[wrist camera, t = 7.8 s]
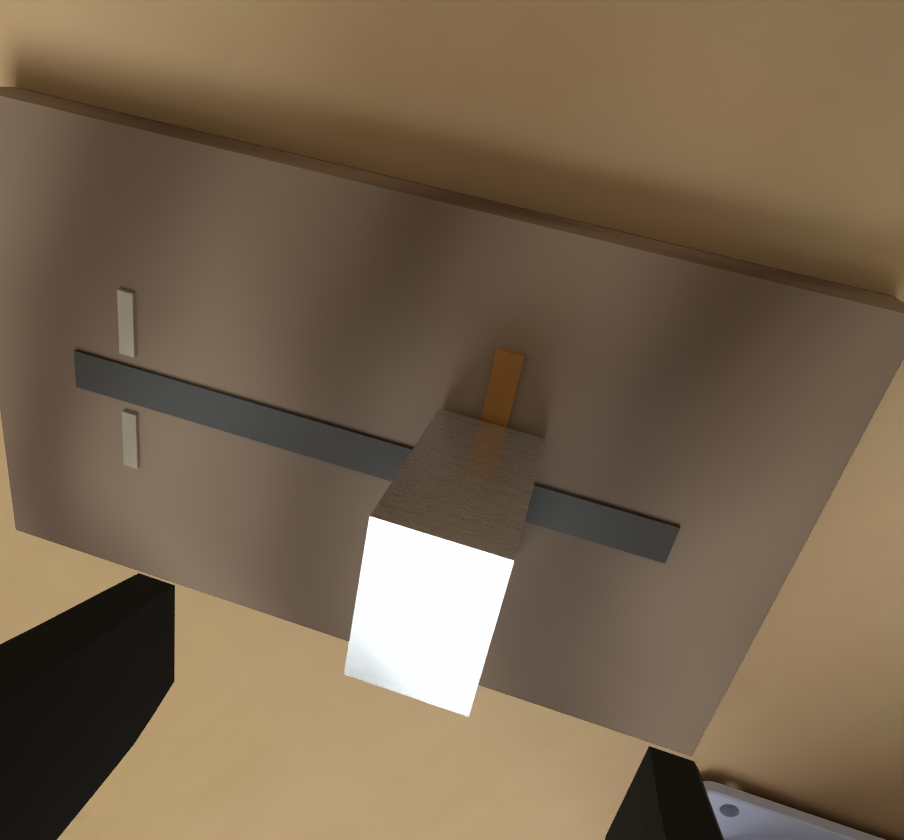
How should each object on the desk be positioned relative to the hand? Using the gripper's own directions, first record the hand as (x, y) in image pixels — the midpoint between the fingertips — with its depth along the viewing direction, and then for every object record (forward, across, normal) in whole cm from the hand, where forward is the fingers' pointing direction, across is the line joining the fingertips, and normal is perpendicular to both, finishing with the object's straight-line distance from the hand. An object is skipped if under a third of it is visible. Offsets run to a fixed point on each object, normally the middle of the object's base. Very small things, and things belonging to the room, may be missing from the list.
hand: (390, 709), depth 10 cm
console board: (+8, +3, 0) cm, 9 cm away
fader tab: (+6, 0, 0) cm, 6 cm away
